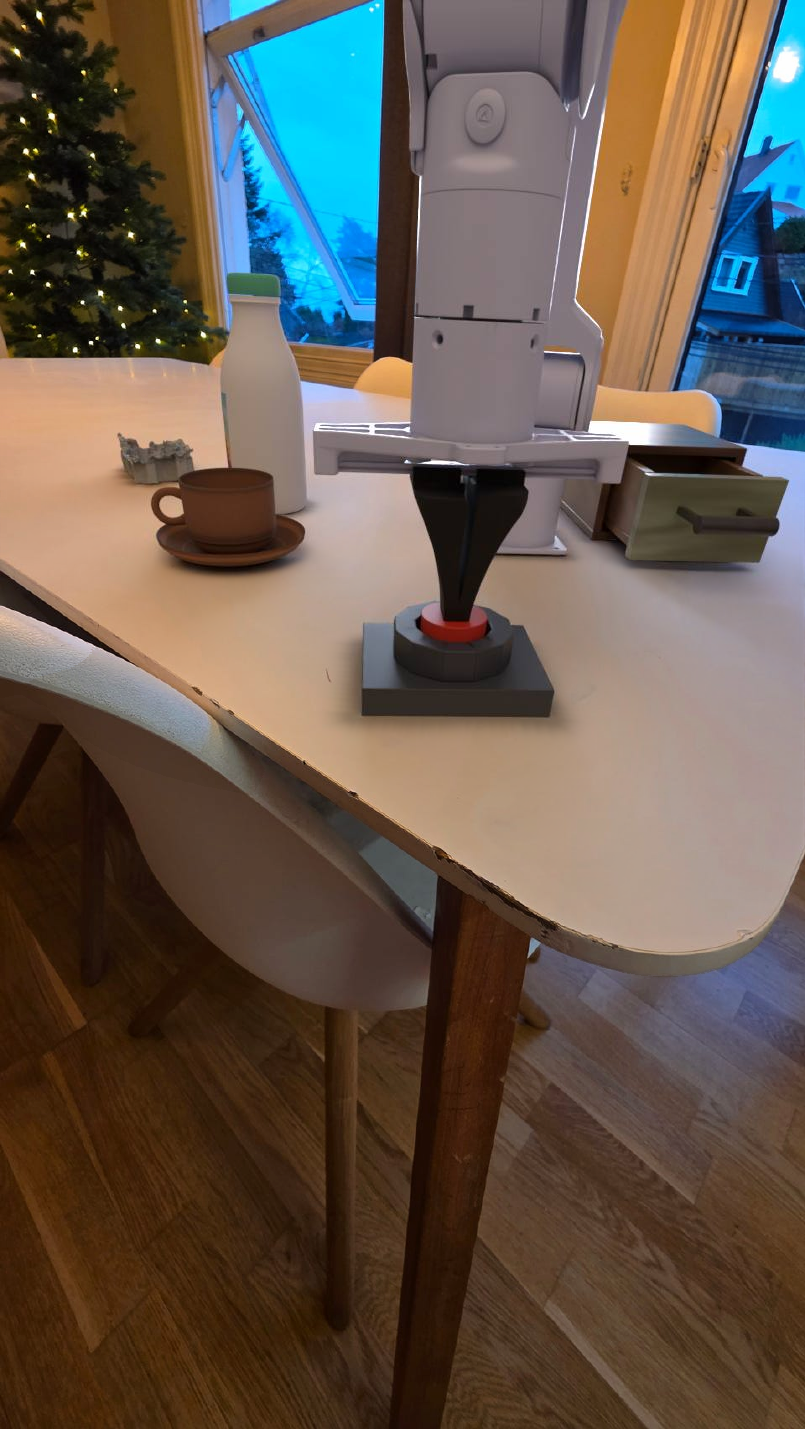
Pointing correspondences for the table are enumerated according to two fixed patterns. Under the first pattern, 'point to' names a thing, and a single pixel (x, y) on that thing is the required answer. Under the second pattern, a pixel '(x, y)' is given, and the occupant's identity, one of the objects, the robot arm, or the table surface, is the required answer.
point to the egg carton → (155, 460)
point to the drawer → (693, 509)
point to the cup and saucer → (226, 519)
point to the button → (453, 625)
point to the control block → (452, 671)
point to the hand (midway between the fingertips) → (454, 614)
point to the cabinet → (590, 496)
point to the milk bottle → (263, 391)
